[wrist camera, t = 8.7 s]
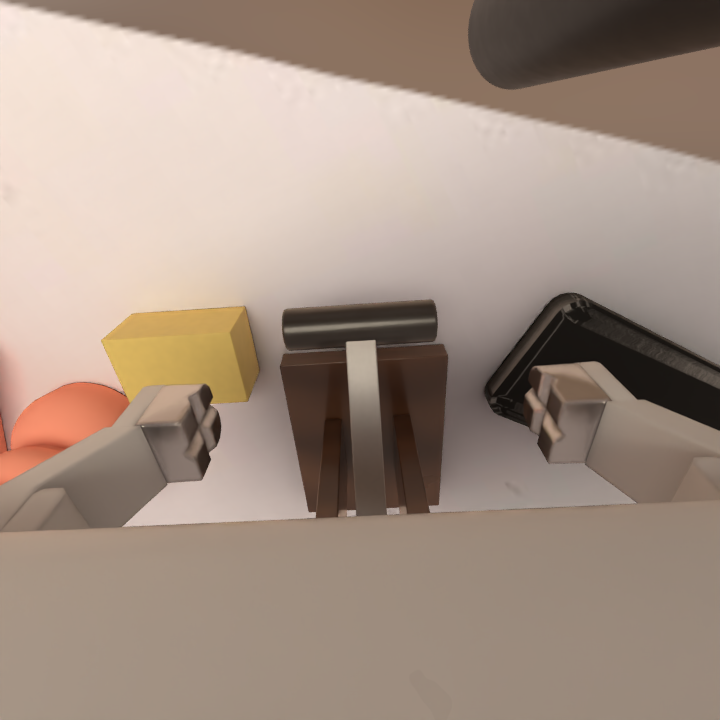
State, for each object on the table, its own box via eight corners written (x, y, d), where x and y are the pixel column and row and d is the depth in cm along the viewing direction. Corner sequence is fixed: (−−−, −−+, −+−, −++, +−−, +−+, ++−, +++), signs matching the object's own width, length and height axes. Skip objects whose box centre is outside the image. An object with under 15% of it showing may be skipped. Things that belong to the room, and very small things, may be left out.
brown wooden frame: (283, 353, 22) (202, 620, 10) (443, 343, 22) (551, 603, 10) (310, 497, 28) (280, 767, 16) (435, 490, 28) (496, 757, 16)
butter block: (131, 313, 21) (100, 340, 18) (245, 306, 20) (229, 332, 18) (157, 376, 23) (132, 408, 20) (259, 370, 22) (248, 401, 20)
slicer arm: (291, 312, 16) (277, 304, 13) (427, 303, 16) (438, 294, 13) (313, 659, 16) (304, 713, 14) (448, 652, 16) (463, 706, 13)
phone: (572, 293, 19) (775, 396, 22) (562, 285, 20) (758, 385, 23) (480, 409, 23) (667, 483, 26) (475, 398, 24) (656, 470, 27)
